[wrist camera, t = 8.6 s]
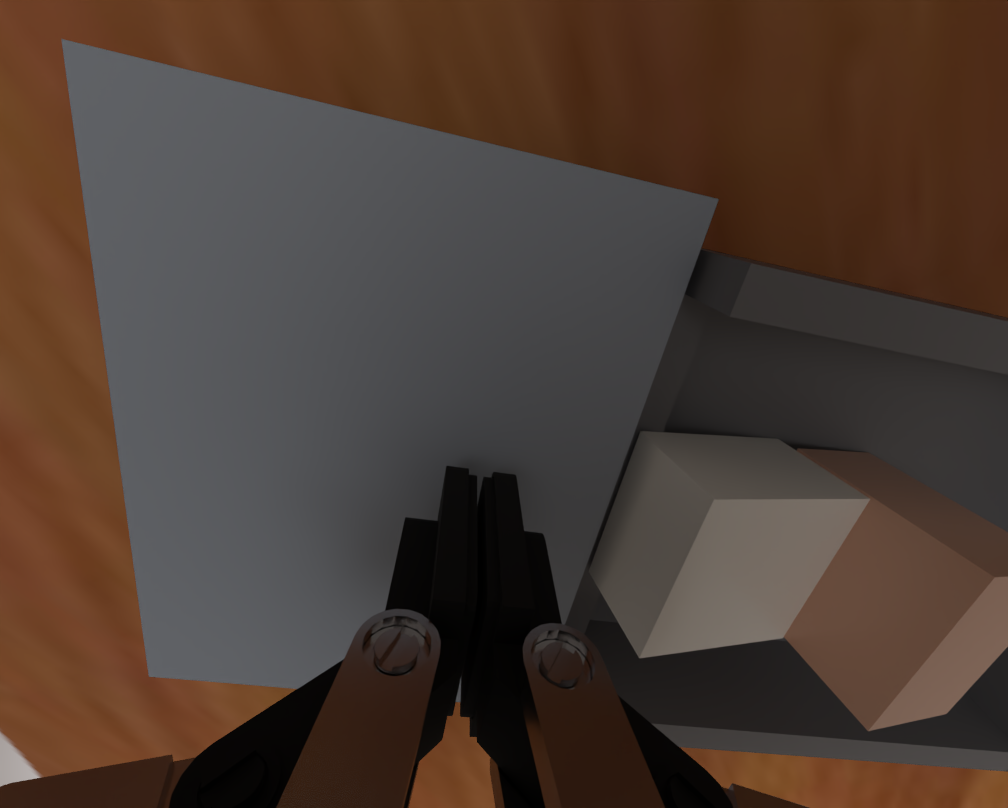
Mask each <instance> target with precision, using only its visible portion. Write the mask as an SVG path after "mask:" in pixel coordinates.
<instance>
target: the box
mask: <svg viewBox="0 0 1008 808" xmlns="http://www.w3.org/2000/svg"><path fill="white" fill-rule="evenodd" d="M640 431H650V432H668V433H685V434H703V435H721V436H739V437H757V438H775V439H779V440H781V441H782V442H784V443H785V444H787V445H788V446H790V447H792V448H793V449H795V450H796V451H797V449H798V448H800V449H817V450H834V451H851V452H868V453H870V454H872V455H874V456H876V457H877V458H879V459H881V460H883V461H884V462H886V463H888V464H890V465H891V466H893V467H895V468H896V469H898V470H900V471H902V472H903V473H905V474H907V475H909V476H910V477H912V478H914V479H916V480H917V481H919V482H921V483H923V484H924V485H926V486H928V487H930V488H931V489H933V490H935V491H937V492H938V493H940V494H942V495H944V496H945V497H947V498H949V499H951V500H952V501H954V502H956V503H958V504H959V505H961V506H963V507H965V508H966V509H968V510H970V511H972V512H973V513H975V514H977V515H979V516H980V517H982V518H984V519H986V520H987V521H989V522H991V523H993V524H994V525H996V526H998V527H1000V528H1001V529H1003V530H1005V531H1007V532H1008V318H1006V317H1002V316H997V315H993V314H989V313H984V312H980V311H975V310H971V309H967V308H962V307H958V306H953V305H949V304H945V303H940V302H936V301H931V300H927V299H923V298H918V297H914V296H909V295H905V294H901V293H896V292H892V291H887V290H883V289H879V288H874V287H870V286H865V285H861V284H857V283H852V282H848V281H843V280H839V279H835V278H830V277H826V276H821V275H817V274H813V273H808V272H804V271H799V270H795V269H791V268H786V267H782V266H777V265H773V264H769V263H764V262H760V261H755V260H751V259H747V258H742V257H738V256H733V255H729V254H725V253H720V252H716V251H711V250H707V249H703V248H701V250H700V253H699V255H698V258H697V261H696V264H695V266H694V269H693V272H692V275H691V277H690V280H689V283H688V286H687V288H686V291H685V294H684V297H683V300H682V302H681V305H680V308H679V311H678V313H677V316H676V319H675V322H674V324H673V327H672V330H671V333H670V335H669V338H668V341H667V344H666V347H665V349H664V352H663V355H662V358H661V360H660V363H659V366H658V369H657V371H656V374H655V377H654V380H653V383H652V385H651V388H650V391H649V394H648V396H647V399H646V402H645V405H644V407H643V410H642V413H641V416H640V418H639V421H638V424H637V427H636V430H635V432H634V435H633V438H632V441H631V443H630V446H629V449H628V452H627V454H626V457H625V460H624V463H623V465H622V468H621V471H620V474H619V477H618V479H617V482H616V485H615V488H614V490H613V493H612V496H611V499H610V501H609V504H608V507H607V510H606V512H605V515H604V518H603V521H602V524H601V526H600V529H599V532H598V535H597V537H596V540H595V543H594V546H593V548H592V551H591V554H590V557H589V559H588V562H587V565H586V568H585V571H584V573H583V576H582V579H581V582H580V584H579V587H578V590H577V593H576V595H575V598H574V601H573V604H572V607H571V609H570V612H569V615H568V618H567V620H566V623H565V625H567V626H570V627H572V628H575V629H576V630H578V631H580V632H581V633H583V634H584V635H586V636H587V637H588V638H589V639H590V640H591V641H592V643H593V644H594V645H595V646H596V648H597V650H598V651H599V653H600V655H601V657H602V659H603V661H604V664H605V666H606V669H607V671H608V673H609V676H610V678H611V680H612V683H613V685H614V688H615V690H616V692H617V695H618V696H620V697H621V698H622V699H623V700H624V701H625V702H627V703H628V704H629V705H630V706H631V707H633V708H634V709H635V710H636V711H637V712H638V713H640V714H641V715H642V716H643V717H644V718H645V719H647V720H648V721H649V722H650V723H651V724H652V725H654V726H655V727H656V728H657V729H658V730H659V731H661V732H662V733H663V734H664V735H665V736H666V737H668V738H669V739H670V740H671V741H672V742H674V743H675V744H676V745H677V746H678V747H687V748H701V749H714V750H728V751H741V752H754V753H768V754H781V755H795V756H808V757H822V758H835V759H848V760H862V761H875V762H889V763H902V764H915V765H929V766H942V767H956V768H969V769H983V770H996V771H1008V647H1007V648H1006V649H1005V650H1004V651H1003V652H1002V653H1001V655H1000V656H999V657H998V658H997V659H996V660H995V661H994V662H993V663H992V664H991V665H990V667H989V668H988V669H987V670H986V671H985V672H984V673H983V674H982V675H981V676H980V678H979V679H978V680H977V681H976V682H975V683H974V684H973V685H972V686H971V687H970V689H969V690H968V691H967V692H966V693H965V694H964V695H963V696H962V697H961V698H960V700H959V701H958V702H957V703H956V704H955V705H954V706H953V707H952V708H951V709H950V711H949V712H948V713H947V714H944V715H940V716H935V717H931V718H926V719H921V720H917V721H912V722H908V723H903V724H899V725H894V726H890V727H885V728H880V729H876V730H871V731H867V730H866V729H865V727H864V726H863V725H862V724H861V723H860V722H859V721H858V720H857V718H856V717H855V716H854V715H853V714H852V713H851V712H850V711H849V709H848V708H847V707H846V706H845V705H844V704H843V703H842V702H841V700H840V699H839V698H838V697H837V696H836V695H835V694H834V693H833V692H832V690H831V689H830V688H829V687H828V686H827V685H826V684H825V683H824V681H823V680H822V679H821V678H820V677H819V676H818V675H817V674H816V672H815V671H814V670H813V669H812V668H811V667H810V666H809V665H808V664H807V662H806V661H805V660H804V659H803V658H802V657H801V656H800V655H799V653H798V652H797V651H796V650H795V649H794V648H793V647H792V646H791V644H790V643H789V642H788V641H787V640H786V639H785V638H784V637H783V638H781V639H774V640H767V641H760V642H753V643H745V644H738V645H731V646H724V647H717V648H710V649H703V650H696V651H689V652H681V653H674V654H667V655H660V656H653V657H646V658H639V657H638V655H637V654H636V652H635V650H634V649H633V647H632V645H631V643H630V642H629V640H628V638H627V637H626V635H625V633H624V631H623V630H622V628H621V626H620V625H619V623H618V621H617V619H616V618H615V616H614V614H613V612H612V611H611V609H610V607H609V606H608V604H607V602H606V600H605V599H604V597H603V595H602V594H601V592H600V590H599V588H598V587H597V585H596V583H595V582H594V580H593V578H592V576H591V575H590V573H589V569H590V566H591V564H592V561H593V558H594V556H595V553H596V550H597V547H598V545H599V542H600V539H601V537H602V534H603V531H604V528H605V526H606V523H607V520H608V518H609V515H610V512H611V509H612V507H613V504H614V501H615V499H616V496H617V493H618V490H619V488H620V485H621V482H622V480H623V477H624V474H625V472H626V469H627V466H628V463H629V461H630V458H631V455H632V453H633V450H634V447H635V444H636V442H637V439H638V436H639V434H640Z"/></svg>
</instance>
